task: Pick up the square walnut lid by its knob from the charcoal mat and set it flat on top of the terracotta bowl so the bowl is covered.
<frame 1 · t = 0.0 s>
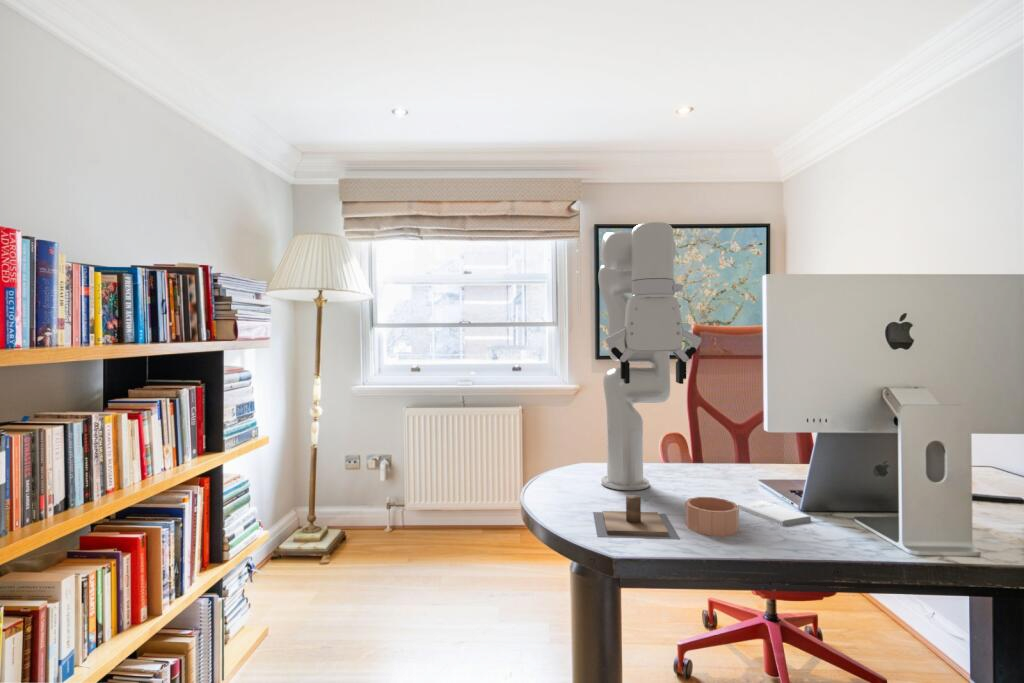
hand: (653, 383, 98), 31 cm above the table, tool pointing down, fingers open, 9 cm apart
lid: (633, 524, 111), resting on mat
external hard drive: (773, 517, 118), on the table
bowl: (711, 528, 110), on the table
mat: (633, 526, 111), on the table
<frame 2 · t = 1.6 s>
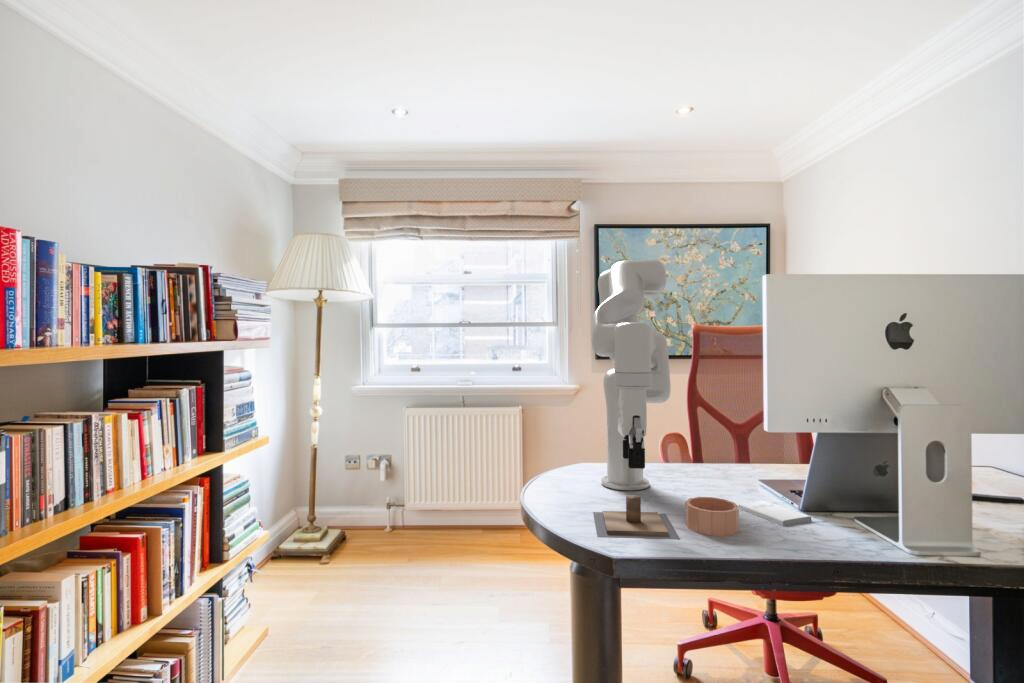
hand: (633, 463, 111), 13 cm above the table, tool pointing down, fingers open, 9 cm apart
nothing on the table moved.
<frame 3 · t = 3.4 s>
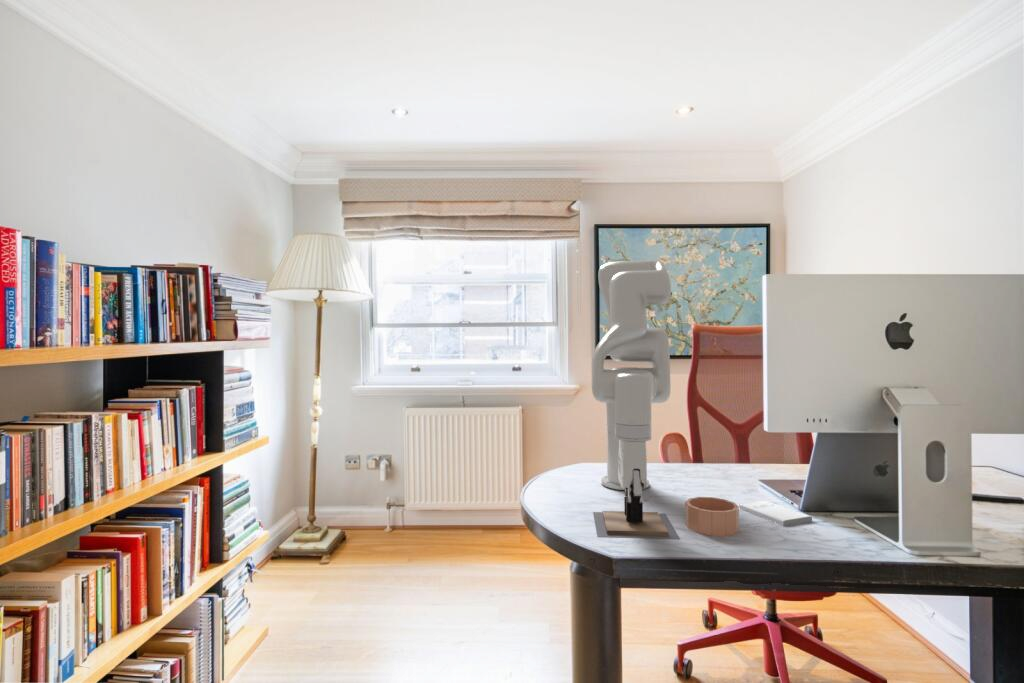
hand: (633, 517, 111), 2 cm above the table, tool pointing down, fingers closed on lid, 3 cm apart
lid: (633, 524, 111), resting on mat, touching gripper
everything else where it was.
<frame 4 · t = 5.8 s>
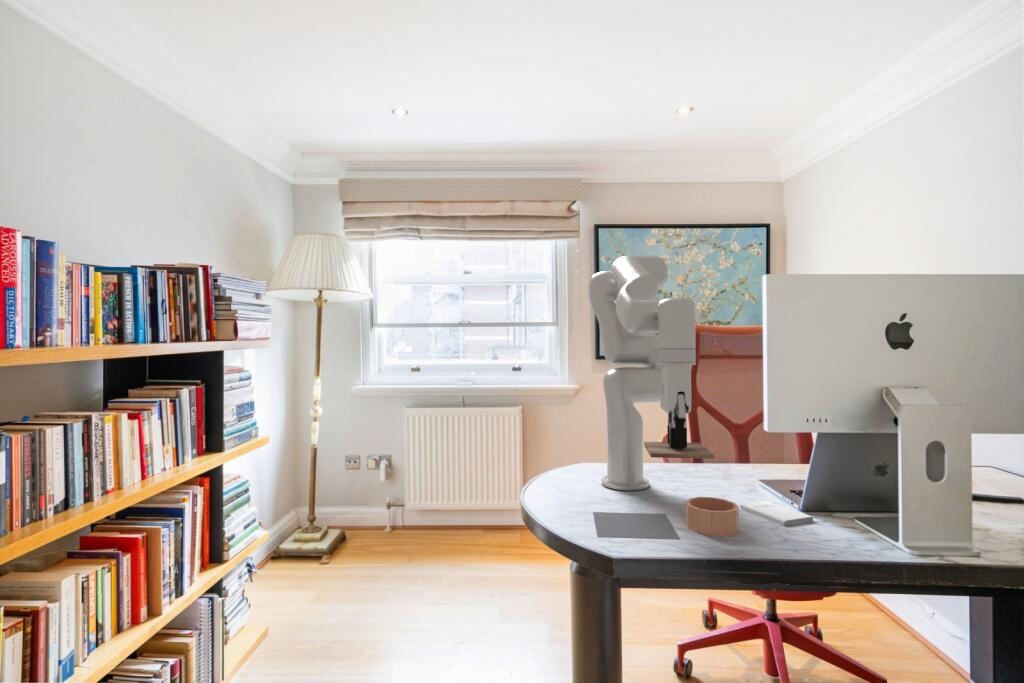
hand: (677, 444, 110), 17 cm above the table, tool pointing down, fingers closed on lid, 3 cm apart
lid: (676, 451, 110), point 16 cm above the table, touching gripper
everything else where it was.
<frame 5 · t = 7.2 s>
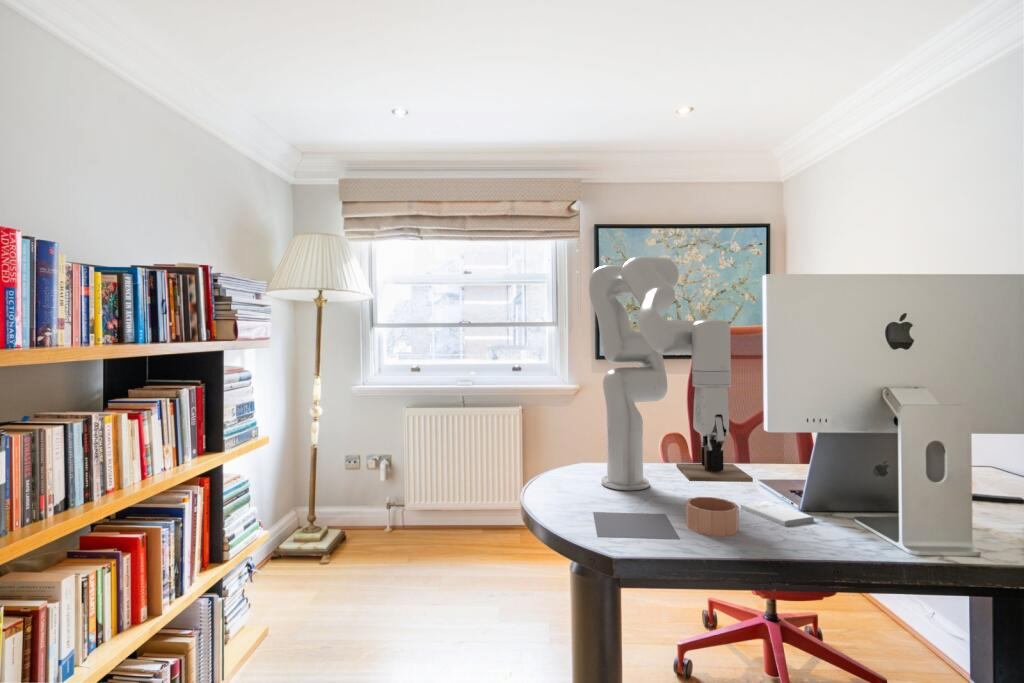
hand: (712, 467, 110), 13 cm above the table, tool pointing down, fingers closed on lid, 3 cm apart
lid: (712, 474, 110), point 11 cm above the table, touching gripper
everything else where it was.
when the fingers open (8 cm above the table, at t = 8.3 s): lid drops 1 cm, resting on bowl.
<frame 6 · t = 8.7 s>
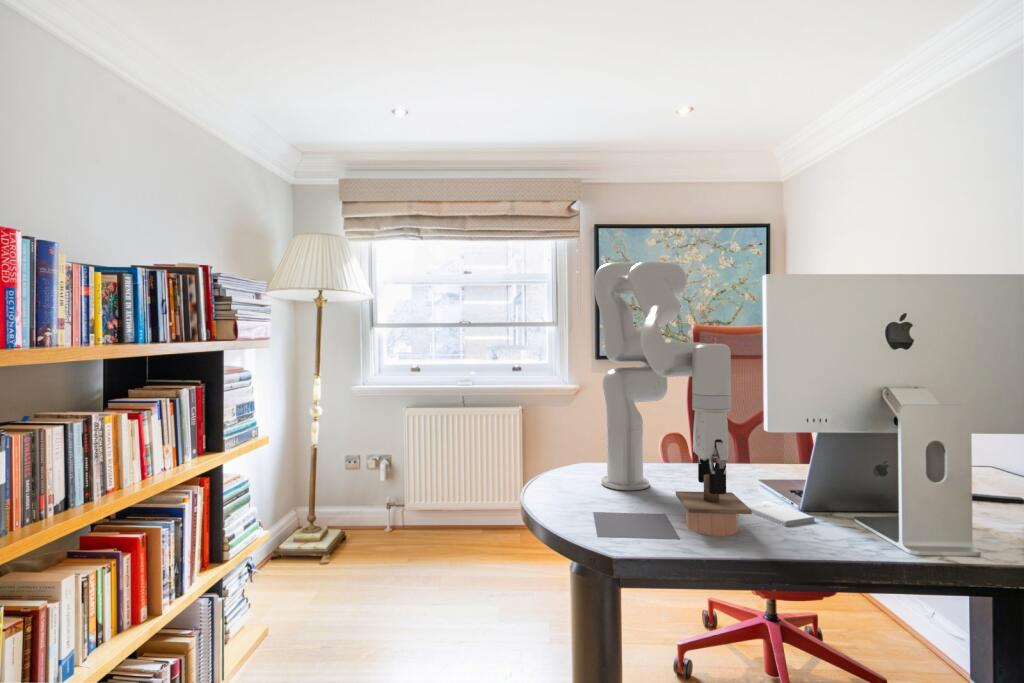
hand: (711, 487, 110), 9 cm above the table, tool pointing down, fingers open, 7 cm apart
lid: (711, 504, 110), point 5 cm above the table, touching bowl
everything else where it was.
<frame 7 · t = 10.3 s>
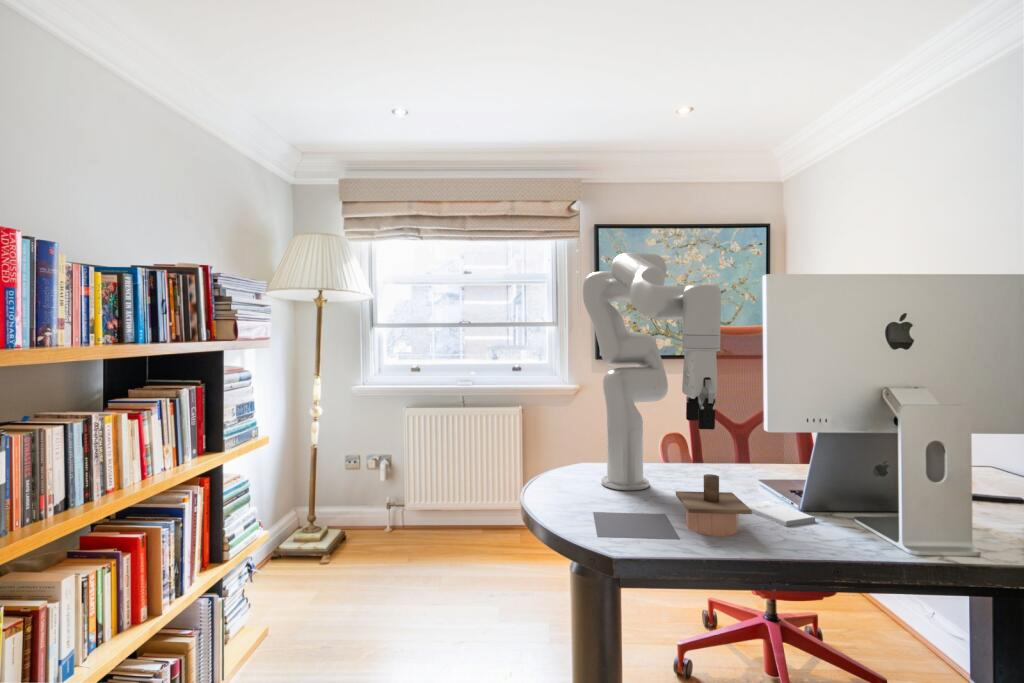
hand: (699, 424, 112), 21 cm above the table, tool pointing down, fingers open, 9 cm apart
nothing on the table moved.
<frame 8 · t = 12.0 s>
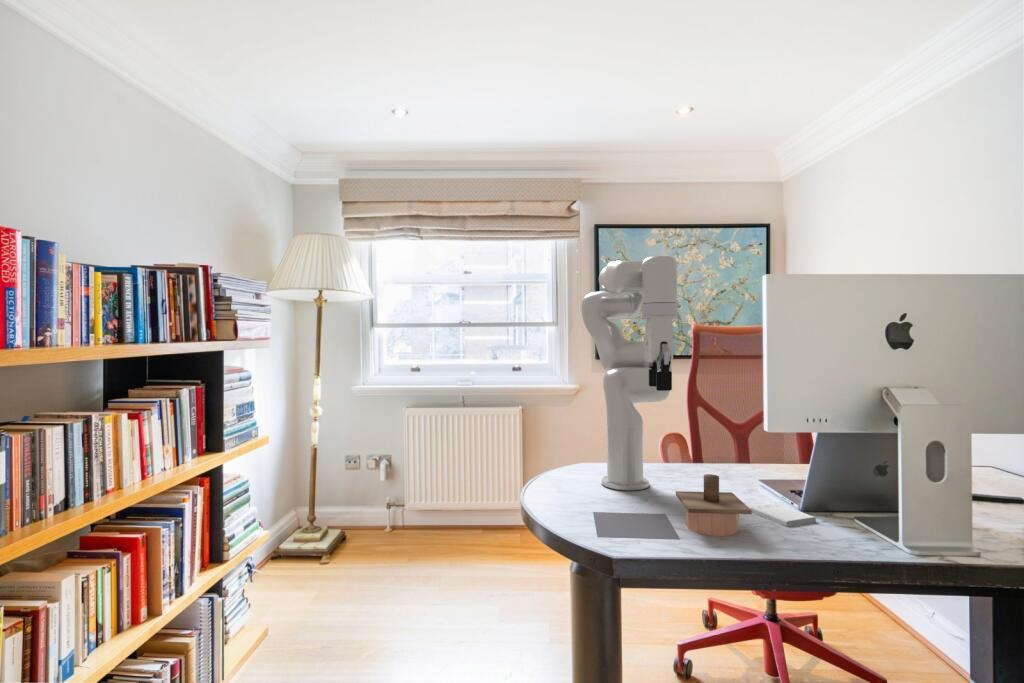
hand: (659, 388, 119), 28 cm above the table, tool pointing down, fingers open, 9 cm apart
at the end: lid 0.1 cm off-centre on the bowl, point 5.0 cm above the bowl's base; lid tilted 0°; the gripper is holding nothing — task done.
